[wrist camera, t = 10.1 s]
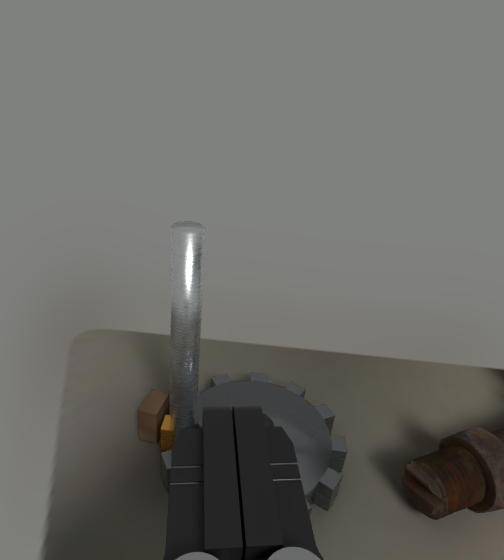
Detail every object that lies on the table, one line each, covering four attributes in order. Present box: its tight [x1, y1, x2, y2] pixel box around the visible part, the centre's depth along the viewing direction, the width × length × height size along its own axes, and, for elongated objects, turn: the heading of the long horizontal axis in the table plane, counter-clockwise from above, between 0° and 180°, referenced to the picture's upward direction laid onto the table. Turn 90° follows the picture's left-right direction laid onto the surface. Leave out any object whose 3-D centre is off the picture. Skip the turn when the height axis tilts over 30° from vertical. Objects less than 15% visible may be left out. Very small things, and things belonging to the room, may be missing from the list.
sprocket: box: [161, 222, 347, 517], centre depth 25 cm, size 11×11×15 cm
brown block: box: [138, 389, 169, 444], centre depth 29 cm, size 1×2×2 cm, turn 166°
